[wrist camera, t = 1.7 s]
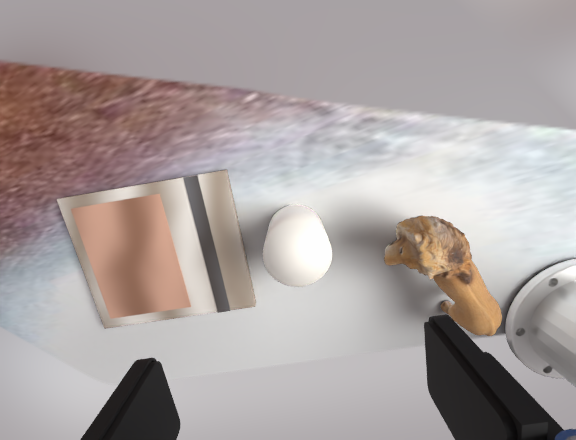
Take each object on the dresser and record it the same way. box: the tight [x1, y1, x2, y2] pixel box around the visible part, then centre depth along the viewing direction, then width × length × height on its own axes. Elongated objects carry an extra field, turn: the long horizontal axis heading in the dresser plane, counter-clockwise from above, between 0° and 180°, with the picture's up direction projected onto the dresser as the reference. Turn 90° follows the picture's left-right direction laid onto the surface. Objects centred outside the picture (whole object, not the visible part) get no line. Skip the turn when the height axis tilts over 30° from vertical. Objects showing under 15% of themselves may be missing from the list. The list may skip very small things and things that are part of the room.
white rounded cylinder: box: [263, 204, 332, 287], centre depth 24 cm, size 5×5×6 cm
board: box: [57, 170, 256, 328], centre depth 27 cm, size 15×13×1 cm
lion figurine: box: [384, 216, 502, 336], centre depth 23 cm, size 15×5×9 cm, turn 46°
